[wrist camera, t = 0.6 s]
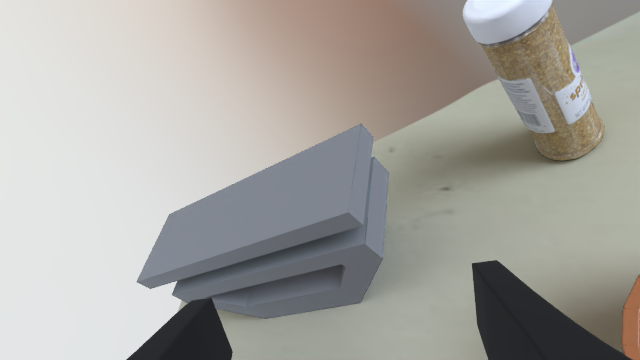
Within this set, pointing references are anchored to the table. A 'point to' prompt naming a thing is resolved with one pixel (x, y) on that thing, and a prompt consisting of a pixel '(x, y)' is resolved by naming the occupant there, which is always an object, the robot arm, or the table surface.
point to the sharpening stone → (281, 234)
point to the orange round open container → (632, 323)
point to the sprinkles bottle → (537, 73)
